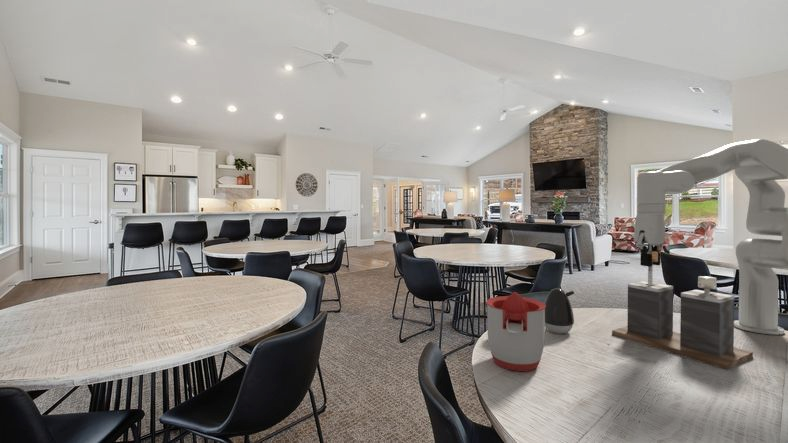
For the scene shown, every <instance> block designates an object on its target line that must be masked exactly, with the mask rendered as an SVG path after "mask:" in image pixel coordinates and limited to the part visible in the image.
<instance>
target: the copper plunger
mask: <svg viewBox="0 0 788 443" xmlns="http://www.w3.org/2000/svg"><path fill="white" fill-rule="evenodd" d="M651 254H652V266H647V282H648V285H649V286H652V283H653V276H654V275H653V274H654V273H653V262H658V252H652V251H651Z"/></svg>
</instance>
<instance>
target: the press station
mask: <svg viewBox="0 0 788 443" xmlns="http://www.w3.org/2000/svg"><path fill="white" fill-rule="evenodd" d="M734 321H735V295H734V294H726V293H721V292H715V291H710V295H704V290H701V289H693V290H688V291H683V292H680V321H679V322H680V323H679V324H680V327H679V328H680V330H679V331H680V332H677V331H673V330H674V285H669V284H665V283H664V284H663V283H657V282H652V286H649V285H648V281H645V280H642V281H637V282H632V283H627V325H626V326H622V327H619V328H616V329H612V332H611V334H612V336H616V337H619V338H622V339H625V340H629V341H632V342H635V343H639V344H642V345H645V346H649V347H652V348H654V349H658V350H662V351H664V352H668V353H672V354H675V355H677V356H681V357H684V358H688V359H691V360H695V361H697V362H702V363H704V364H708V365H710V366H715V367H718V368H721V369H725V370H729V369H731V368H733V367H736V366H738V365H740V364H742V363H745V362H746V361H749V360H750V359H753V357H754V352H753V351H751V350H747V349H746V350H745V349H742V348H738V347H734V346H735V345H734V344H735V343H734V342H735V340H734V336H735V333H734V332H735V326H734Z"/></svg>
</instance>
